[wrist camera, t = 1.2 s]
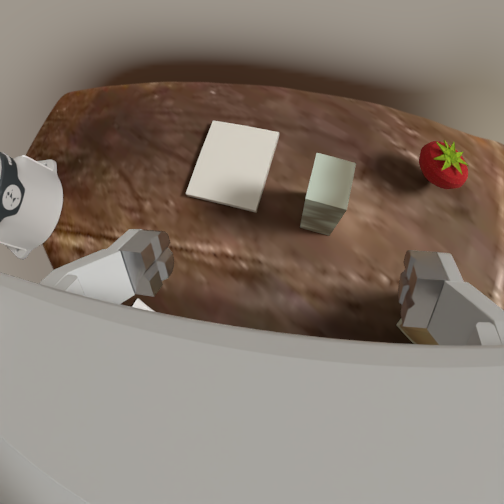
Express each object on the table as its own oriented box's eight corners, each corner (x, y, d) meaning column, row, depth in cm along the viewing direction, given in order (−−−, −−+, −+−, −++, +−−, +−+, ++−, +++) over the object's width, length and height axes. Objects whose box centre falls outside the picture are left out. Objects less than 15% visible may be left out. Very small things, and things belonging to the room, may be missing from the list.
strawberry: (442, 208, 38) (477, 186, 29) (401, 180, 40) (428, 150, 30) (453, 178, 39) (486, 151, 29) (414, 151, 40) (440, 117, 30)
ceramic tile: (187, 196, 43) (185, 193, 42) (214, 124, 44) (213, 120, 43) (256, 212, 41) (255, 210, 40) (279, 135, 43) (279, 132, 42)
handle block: (299, 227, 40) (305, 198, 28) (308, 192, 41) (316, 152, 29) (329, 235, 40) (346, 209, 28) (337, 200, 40) (355, 163, 28)
